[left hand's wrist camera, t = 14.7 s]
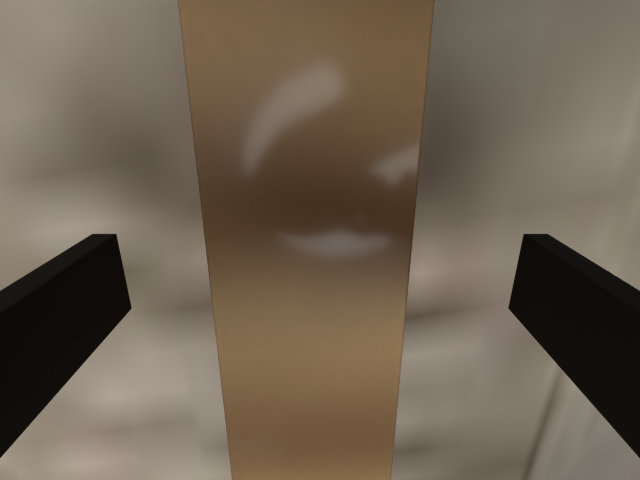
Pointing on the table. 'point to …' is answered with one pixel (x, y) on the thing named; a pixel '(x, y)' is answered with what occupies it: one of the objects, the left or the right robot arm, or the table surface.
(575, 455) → the table surface
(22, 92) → the table surface
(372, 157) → the beam
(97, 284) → the left robot arm
